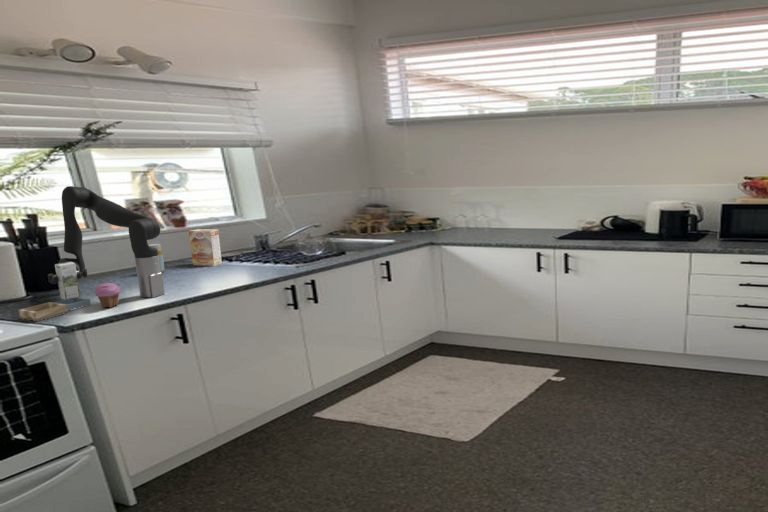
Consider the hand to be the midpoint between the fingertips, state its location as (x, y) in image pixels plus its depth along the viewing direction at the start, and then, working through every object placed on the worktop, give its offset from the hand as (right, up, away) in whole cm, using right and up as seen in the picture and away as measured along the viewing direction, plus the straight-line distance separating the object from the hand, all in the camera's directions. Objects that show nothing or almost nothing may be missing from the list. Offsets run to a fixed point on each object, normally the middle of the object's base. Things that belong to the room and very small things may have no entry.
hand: (66, 278), depth 209 cm
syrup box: (0, -8, +3) cm, 9 cm away
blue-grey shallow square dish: (-1, -12, +4) cm, 13 cm away
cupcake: (+16, -12, +2) cm, 20 cm away
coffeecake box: (+28, +4, +84) cm, 88 cm away
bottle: (+7, 0, +67) cm, 67 cm away
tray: (-5, -14, -7) cm, 16 cm away
